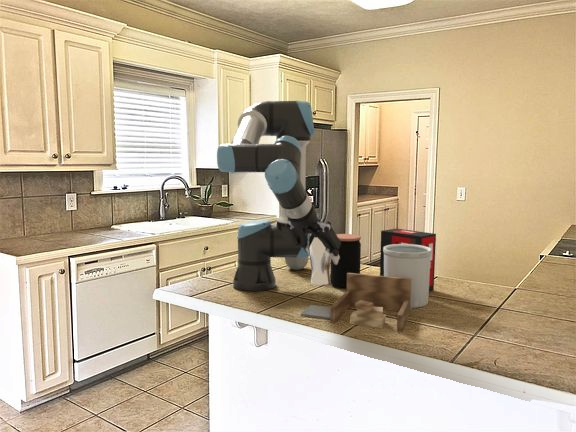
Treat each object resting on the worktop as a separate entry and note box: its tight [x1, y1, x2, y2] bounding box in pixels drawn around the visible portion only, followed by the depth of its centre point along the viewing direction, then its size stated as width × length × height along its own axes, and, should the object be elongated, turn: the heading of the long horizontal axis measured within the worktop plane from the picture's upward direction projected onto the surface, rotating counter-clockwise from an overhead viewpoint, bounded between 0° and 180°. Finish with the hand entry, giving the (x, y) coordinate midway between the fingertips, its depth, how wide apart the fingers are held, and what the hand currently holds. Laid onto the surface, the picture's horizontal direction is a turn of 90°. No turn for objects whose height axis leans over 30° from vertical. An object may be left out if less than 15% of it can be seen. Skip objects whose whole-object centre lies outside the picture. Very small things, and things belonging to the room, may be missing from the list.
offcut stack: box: [349, 300, 387, 329], centre depth 131 cm, size 9×5×6 cm, turn 69°
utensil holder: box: [383, 244, 432, 309], centre depth 150 cm, size 15×15×18 cm
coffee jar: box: [329, 233, 362, 290], centre depth 170 cm, size 11×11×18 cm
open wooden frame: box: [330, 273, 411, 333], centre depth 136 cm, size 19×19×10 cm
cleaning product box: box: [379, 227, 437, 293], centre depth 167 cm, size 16×9×20 cm, turn 41°
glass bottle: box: [284, 256, 310, 271], centre depth 194 cm, size 10×10×28 cm
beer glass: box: [309, 234, 332, 287], centre depth 137 cm, size 7×7×15 cm
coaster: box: [300, 304, 331, 320], centre depth 140 cm, size 9×9×1 cm
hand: (326, 259), depth 141 cm, fingers closed on beer glass, 7 cm apart
